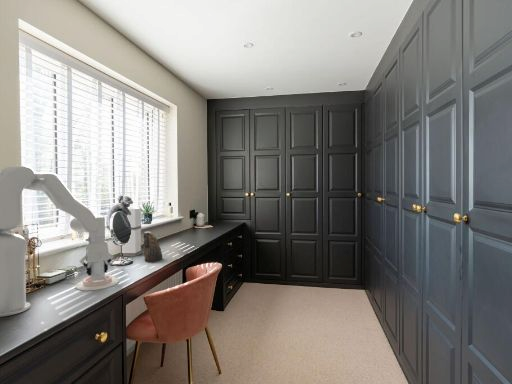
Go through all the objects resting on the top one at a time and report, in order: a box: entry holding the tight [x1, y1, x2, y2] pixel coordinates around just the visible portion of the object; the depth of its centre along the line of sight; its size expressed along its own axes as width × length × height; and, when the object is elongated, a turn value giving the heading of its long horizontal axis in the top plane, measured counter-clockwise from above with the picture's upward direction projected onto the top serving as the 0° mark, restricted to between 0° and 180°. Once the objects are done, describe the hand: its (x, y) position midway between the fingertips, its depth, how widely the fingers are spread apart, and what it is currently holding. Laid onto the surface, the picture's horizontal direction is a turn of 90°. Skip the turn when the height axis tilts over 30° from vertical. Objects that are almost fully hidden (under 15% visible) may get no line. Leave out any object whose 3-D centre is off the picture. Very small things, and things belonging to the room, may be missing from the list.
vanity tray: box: [74, 274, 120, 292], centre depth 157 cm, size 20×20×3 cm
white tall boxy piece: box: [122, 207, 142, 257], centre depth 227 cm, size 11×11×35 cm
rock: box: [142, 230, 164, 263], centre depth 209 cm, size 13×13×20 cm
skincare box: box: [89, 257, 106, 281], centre depth 156 cm, size 6×4×12 cm
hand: (97, 273), depth 156 cm, fingers closed on skincare box, 7 cm apart
